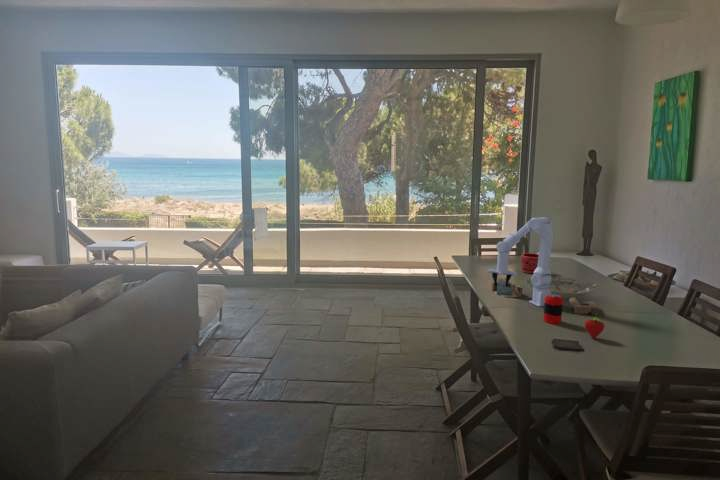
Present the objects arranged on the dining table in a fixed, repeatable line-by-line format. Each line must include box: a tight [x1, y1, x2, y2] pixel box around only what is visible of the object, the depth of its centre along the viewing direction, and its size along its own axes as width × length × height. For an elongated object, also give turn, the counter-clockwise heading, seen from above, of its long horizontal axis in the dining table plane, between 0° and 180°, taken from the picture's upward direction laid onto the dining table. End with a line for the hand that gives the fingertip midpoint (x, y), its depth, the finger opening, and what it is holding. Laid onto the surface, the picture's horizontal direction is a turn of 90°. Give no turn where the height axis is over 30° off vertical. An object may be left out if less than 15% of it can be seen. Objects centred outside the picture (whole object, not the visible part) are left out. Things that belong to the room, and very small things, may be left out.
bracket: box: [496, 277, 514, 296], centre depth 266 cm, size 9×8×5 cm
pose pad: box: [494, 291, 519, 298], centre depth 266 cm, size 10×9×1 cm
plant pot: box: [520, 252, 539, 274], centre depth 322 cm, size 13×13×12 cm
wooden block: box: [568, 296, 601, 316], centre depth 240 cm, size 4×11×18 cm
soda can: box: [542, 293, 564, 325], centre depth 219 cm, size 8×8×12 cm
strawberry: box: [584, 315, 605, 339], centre depth 199 cm, size 6×8×10 cm
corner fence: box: [491, 281, 523, 297], centre depth 268 cm, size 13×11×4 cm
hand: (500, 287), depth 268 cm, fingers open, 5 cm apart
